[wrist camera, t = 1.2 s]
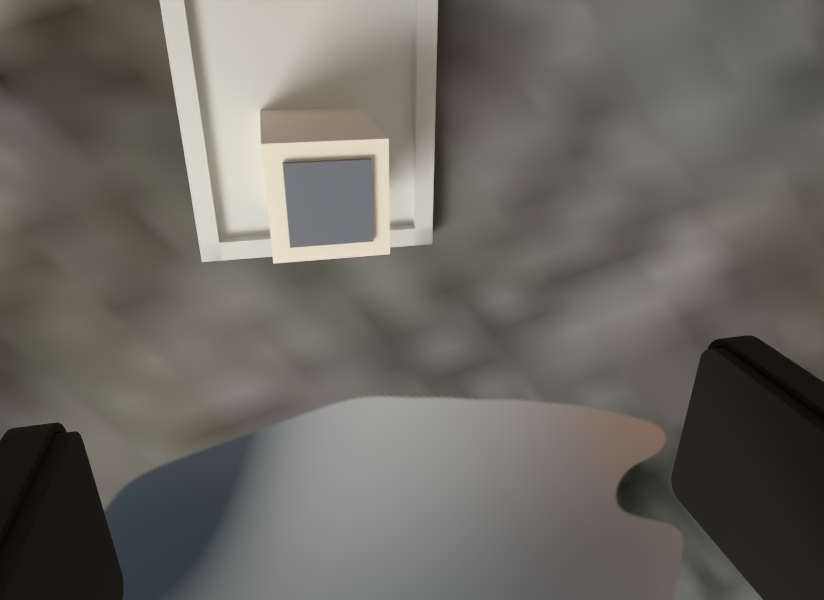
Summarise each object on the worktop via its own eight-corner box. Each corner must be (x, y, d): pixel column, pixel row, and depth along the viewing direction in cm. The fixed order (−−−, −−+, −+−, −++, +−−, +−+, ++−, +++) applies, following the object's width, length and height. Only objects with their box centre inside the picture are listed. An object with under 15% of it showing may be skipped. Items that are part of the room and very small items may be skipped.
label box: (260, 110, 24) (260, 145, 19) (360, 107, 25) (389, 140, 19) (270, 208, 26) (273, 265, 20) (363, 202, 27) (390, 256, 21)
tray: (128, -217, 19) (123, -226, 18) (435, -195, 21) (442, -203, 20) (203, 252, 26) (201, 261, 26) (426, 236, 28) (432, 243, 28)
